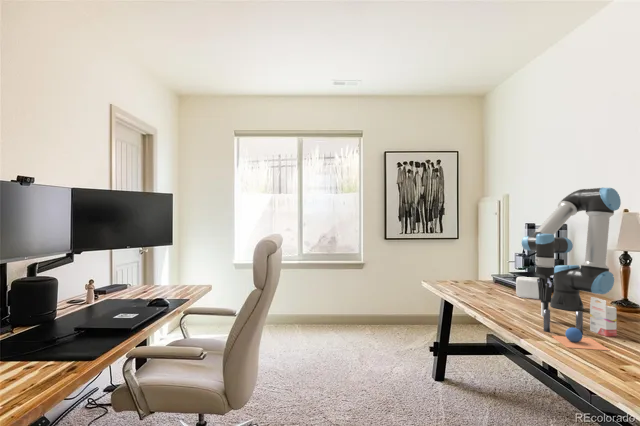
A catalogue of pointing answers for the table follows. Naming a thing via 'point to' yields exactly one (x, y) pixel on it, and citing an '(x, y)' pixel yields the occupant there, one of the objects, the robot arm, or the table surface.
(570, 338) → the ball
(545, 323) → the post
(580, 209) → the robot arm
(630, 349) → the table surface
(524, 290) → the cable organizer
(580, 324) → the post
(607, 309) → the ink cartridge box
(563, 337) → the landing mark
